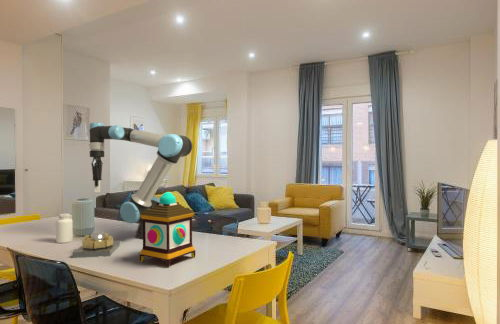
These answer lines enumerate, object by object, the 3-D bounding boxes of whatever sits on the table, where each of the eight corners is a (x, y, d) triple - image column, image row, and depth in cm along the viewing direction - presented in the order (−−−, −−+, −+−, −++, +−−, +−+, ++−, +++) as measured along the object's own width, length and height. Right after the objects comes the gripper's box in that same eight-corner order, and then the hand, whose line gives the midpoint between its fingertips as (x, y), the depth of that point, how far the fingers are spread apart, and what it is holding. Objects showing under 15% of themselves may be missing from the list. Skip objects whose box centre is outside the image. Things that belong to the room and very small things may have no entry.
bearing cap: (119, 245, 175) (119, 229, 175) (109, 256, 155) (109, 237, 155) (87, 246, 172) (87, 230, 172) (72, 257, 152) (72, 239, 152)
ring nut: (115, 245, 161) (115, 236, 161) (84, 249, 154) (84, 240, 154) (107, 237, 180) (107, 229, 180) (79, 240, 173) (79, 231, 173)
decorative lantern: (167, 251, 163) (167, 189, 163) (200, 257, 152) (199, 191, 152) (134, 262, 145) (134, 192, 145) (168, 269, 135) (167, 195, 135)
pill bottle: (65, 243, 179) (65, 215, 179) (52, 243, 181) (52, 215, 181) (76, 240, 187) (75, 213, 187) (63, 239, 188) (63, 212, 188)
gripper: (93, 150, 196) (93, 191, 196) (86, 149, 183) (86, 193, 183) (107, 150, 197) (107, 190, 197) (100, 149, 184) (101, 192, 184)
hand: (97, 191), depth 190 cm, fingers closed
